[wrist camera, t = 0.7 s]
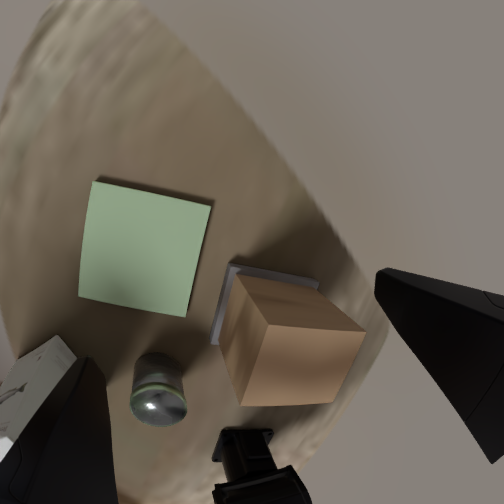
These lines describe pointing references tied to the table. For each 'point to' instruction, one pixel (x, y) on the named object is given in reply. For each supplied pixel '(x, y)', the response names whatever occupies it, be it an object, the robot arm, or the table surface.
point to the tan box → (282, 338)
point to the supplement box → (30, 387)
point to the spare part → (158, 390)
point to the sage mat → (140, 248)
